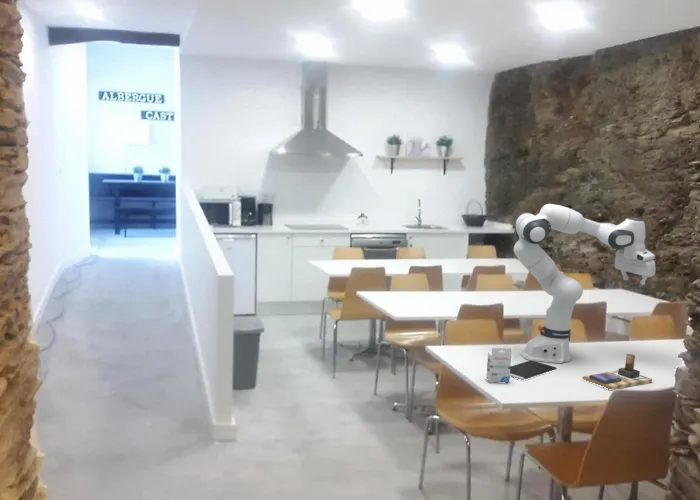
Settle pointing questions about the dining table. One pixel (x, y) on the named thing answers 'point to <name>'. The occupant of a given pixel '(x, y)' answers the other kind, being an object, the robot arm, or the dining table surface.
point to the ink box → (499, 365)
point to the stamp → (629, 368)
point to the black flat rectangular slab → (529, 369)
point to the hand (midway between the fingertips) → (634, 282)
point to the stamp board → (616, 380)
